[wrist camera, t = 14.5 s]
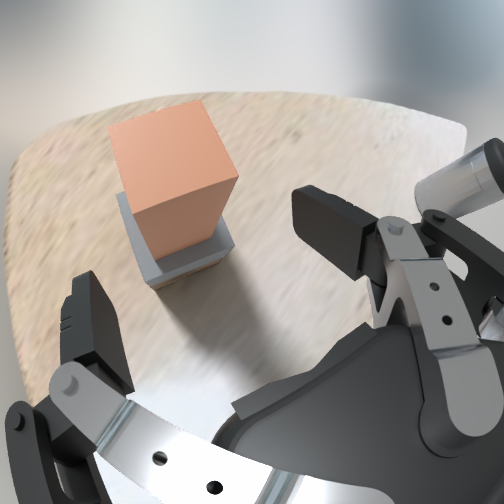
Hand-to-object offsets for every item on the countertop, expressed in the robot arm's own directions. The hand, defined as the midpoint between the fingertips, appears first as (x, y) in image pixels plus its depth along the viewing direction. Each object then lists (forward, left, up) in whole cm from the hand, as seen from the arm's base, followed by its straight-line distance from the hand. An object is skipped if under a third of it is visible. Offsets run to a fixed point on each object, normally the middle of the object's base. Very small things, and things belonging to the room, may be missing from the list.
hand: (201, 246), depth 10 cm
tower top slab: (-3, -4, -17) cm, 18 cm away
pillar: (-3, -4, -12) cm, 13 cm away
